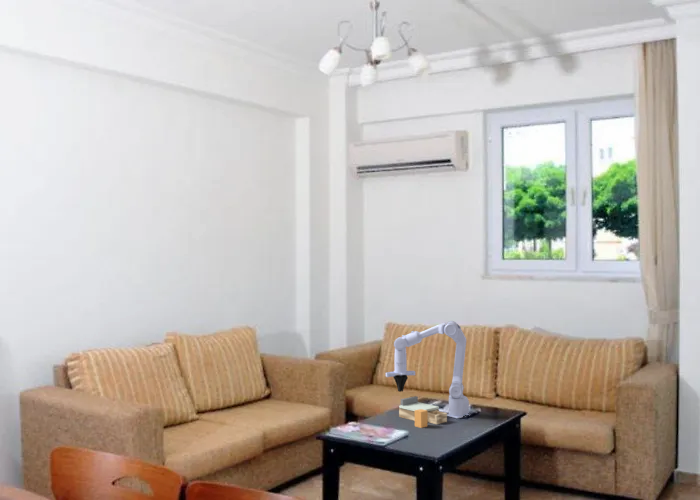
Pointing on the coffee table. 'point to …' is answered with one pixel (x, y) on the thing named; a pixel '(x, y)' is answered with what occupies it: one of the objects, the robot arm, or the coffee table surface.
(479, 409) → the coffee table surface
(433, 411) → the wooden tray
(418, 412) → the orange rectangular block
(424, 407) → the lid
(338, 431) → the coffee table surface
